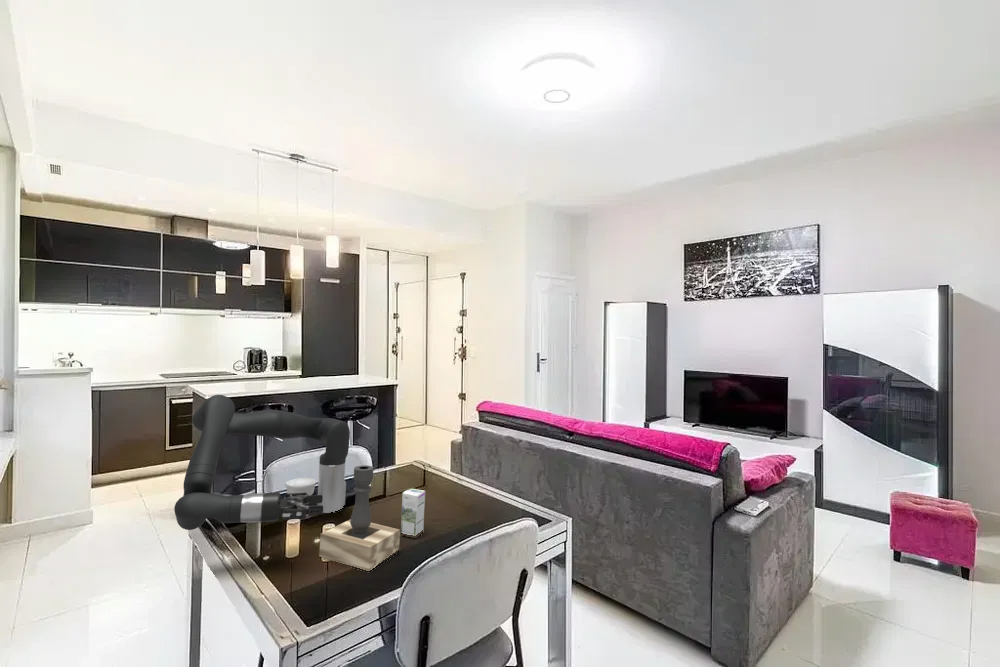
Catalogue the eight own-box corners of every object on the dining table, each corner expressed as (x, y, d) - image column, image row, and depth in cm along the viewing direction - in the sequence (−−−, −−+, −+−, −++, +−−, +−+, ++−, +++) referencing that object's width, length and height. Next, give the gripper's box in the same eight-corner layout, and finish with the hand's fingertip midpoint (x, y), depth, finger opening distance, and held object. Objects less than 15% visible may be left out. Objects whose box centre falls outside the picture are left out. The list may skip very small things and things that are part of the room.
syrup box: (423, 533, 160) (426, 489, 160) (415, 539, 154) (417, 495, 154) (408, 530, 161) (411, 487, 162) (399, 536, 156) (402, 492, 156)
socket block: (351, 540, 151) (353, 518, 151) (398, 552, 144) (400, 529, 144) (319, 557, 138) (320, 533, 139) (368, 572, 131) (370, 547, 131)
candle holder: (350, 547, 144) (355, 464, 144) (371, 547, 144) (376, 465, 145) (345, 556, 138) (350, 470, 138) (367, 556, 138) (372, 471, 139)
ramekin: (280, 494, 190) (280, 481, 190) (306, 488, 199) (307, 476, 199) (293, 501, 183) (294, 487, 183) (320, 495, 191) (321, 482, 191)
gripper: (259, 503, 125) (324, 499, 131) (264, 485, 138) (323, 483, 144) (257, 531, 125) (322, 526, 131) (261, 511, 138) (321, 507, 144)
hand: (322, 503), depth 138 cm, fingers open, 8 cm apart
